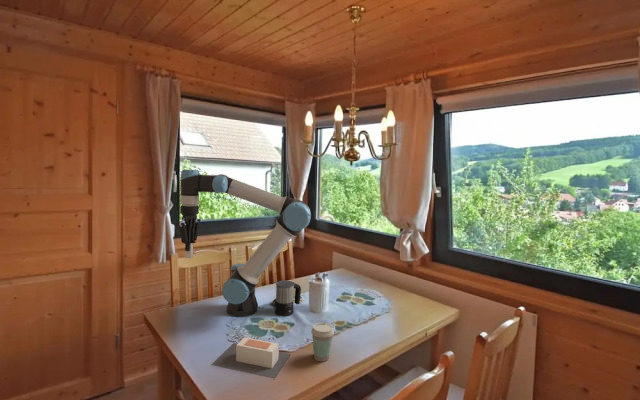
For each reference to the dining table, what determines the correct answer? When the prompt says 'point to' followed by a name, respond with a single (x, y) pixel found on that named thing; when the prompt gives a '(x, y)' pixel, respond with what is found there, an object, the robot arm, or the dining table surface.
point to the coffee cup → (322, 341)
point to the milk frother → (286, 297)
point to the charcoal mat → (230, 362)
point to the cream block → (257, 352)
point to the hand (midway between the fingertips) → (189, 257)
